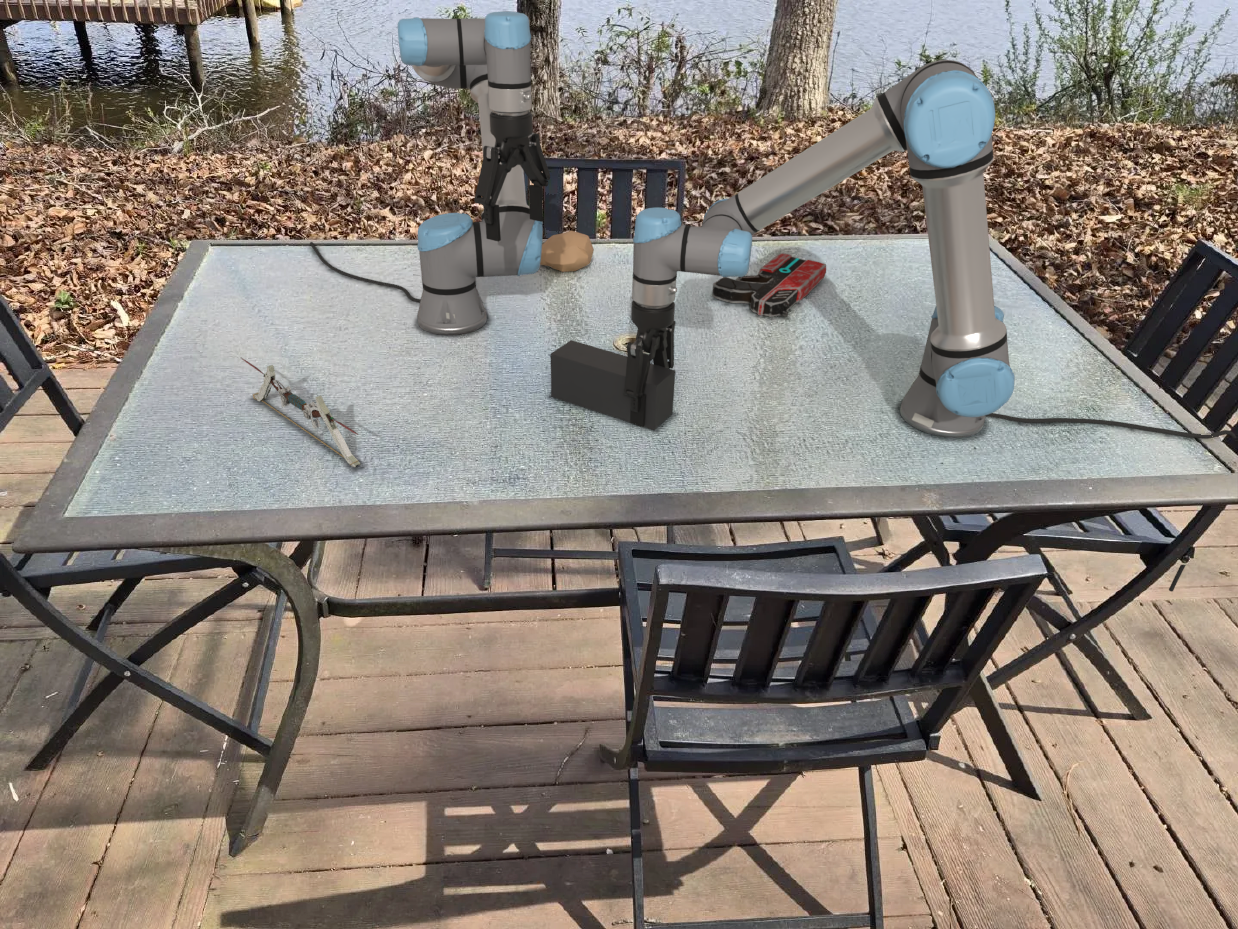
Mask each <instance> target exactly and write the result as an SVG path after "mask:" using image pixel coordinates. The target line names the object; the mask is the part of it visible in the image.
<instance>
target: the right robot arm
mask: <svg viewBox="0 0 1238 929" xmlns="http://www.w3.org/2000/svg"><path fill="white" fill-rule="evenodd" d="M995 108H996V107H995V103H994V99H993V97H992V94H991V92H990V91H989V88H988V87H987V86H986V85H985V84H984V83H983V81H982V80H980V79H979V78H978V76H977V75H976V73H975V72H974V71H973V70H972V68H970V67H969V66H968V65H966V64H964V63H963V62H960V61H957V60H953V59H939V60H935V61H931V62H928V63H926V64H924V65H922V66H921V67H919V68H918V69H915V70H914V71H913V72H912V73H910V74H909V75H907V76H906V77H904V78H903V79H901V80H900V81H898V82H897V83H896V84H894V85H893V86H892V87H890V88H889V89H887V90H886V91H884V92H882V93H881V94H879V95H878V96H876V97H874V101H873V104H872V106H871V108H870V109H867V110H866V111H865V112H863V113H862V114H859V115H858V116H857V117H855V118H854V119H852V120H851V121H849V122H847V123H846V124H844V125H842V126H841V127H840V128H837V129H836V130H834V131H833V132H832V133H830V134H829V135H827V136H825V137H824V138H822V139H820V140H819V141H817V142H816V143H814V144H813V145H811V146H810V147H808V148H806V149H804V150H803V151H802V152H800V153H798V154H796V155H795V156H794V157H792V158H790V159H789V160H787V161H785V162H784V163H782V164H781V165H779V166H778V167H776V168H774V169H773V170H772V171H770V172H768V173H767V174H765V175H764V176H762V177H760V178H758V179H757V180H756V181H754V182H752V183H750V185H748V186H746V187H745V188H743V189H742V190H740V191H738V192H737V193H735V194H734V195H732V196H730V197H729V198H721V199H719V200H716V201H715V202H713V203H712V204H711V205H710V206H709V207H708V209H707V211H706V212H705V214H704V217H703V220H702V223H701V226H691V225H687V224H682V221H681V215H680V213H679V212H678V211H676V210H675V209H670V208H669V209H668V208H667V207H658V206H657V207H649V208H645V209H641V210H640V211H639V212H638V213H637V215H636V216H635V223H634V235H633V238H632V242H633V248H632V250H633V251H632V253H633V255H632V256H633V257H632V282H631V285H632V286H631V299H632V300H631V310H630V312H631V313H630V319H631V323H633V325H635V327H636V328H637V332H636V334H635V341H634V342H628V343H627V345H626V356H627V366H626V377H625V387H624V394H625V395H628V396H631V412H630V422H629V423H630V424H632V425H635V426H638V427H641V428H645V427H644V426H645V411H646V394H644V390H645V385H646V381H647V376H648V372H649V367H650V363H651V362H652V363H651V364H655V365H658V366H662V367H665V368H668V369H672V370H673V369H674V366H675V330H676V323H677V322H676V320H675V312H676V311H675V310H676V303H675V302H674V301H675V300H676V294H677V293H678V287H677V279H678V278H677V277H678V272H681V273H691V274H700V275H709V276H718V277H721V278H723V277H728V278H738V277H743V276H747V275H748V274H749V270H750V263H751V255H752V248H753V236H754V235H755V234H757V233H759V232H760V231H761V230H764V228H766V227H767V226H770V225H771V224H773V223H774V222H776V221H778V220H780V219H781V218H783V217H784V216H786V215H789V213H792V212H794V211H795V210H796V209H798V208H800V207H801V206H803V205H805V204H806V203H808V202H810V201H812V200H813V199H815V198H817V197H818V196H820V195H822V194H823V193H825V192H827V191H829V190H830V189H832V188H833V187H835V186H837V185H838V184H840V183H842V182H843V181H845V180H846V179H849V178H851V177H852V176H853V175H855V174H857V173H858V172H860V171H862V170H863V169H865V168H867V167H868V166H870V165H872V164H874V163H875V162H877V161H878V160H880V159H882V158H883V157H885V156H886V155H889V154H890V153H893V151H896V152H901V153H904V152H907V158H908V159H907V160H908V168H909V176H910V178H911V179H912V180H914V181H915V182H917V183H918V184H920V185H921V187H922V196H923V203H924V212H925V220H926V230H927V237H928V246H929V256H930V263H931V264H930V265H931V272H932V273H931V274H932V281H933V289H934V296H935V298H934V299H935V308H934V310H933V313H932V315H931V317H930V318H931V322H930V326H929V330H928V334H927V338H926V342H925V347H924V351H923V355H922V359H921V363H920V367H919V372H918V374H917V376H916V378H915V379H914V380H913V383H912V384H911V386H910V387H909V389H908V390H907V392H906V393H905V394H904V396H903V398H902V401H901V405H900V407H899V413H900V415H901V418H902V419H903V420H904V421H905V422H906V423H908V425H910V426H911V427H913V428H915V429H916V430H918V431H921V432H923V433H926V434H928V435H932V436H937V437H941V438H949V439H950V438H952V439H961V438H969V437H972V436H975V435H977V434H979V433H980V432H981V431H982V430H983V427H984V425H985V421H986V418H987V417H988V418H994V419H1001V420H1005V421H1010V422H1016V423H1023V424H1024V423H1025V424H1048V423H1049V424H1050V423H1051V424H1052V423H1067V424H1068V423H1069V424H1070V423H1071V424H1092V425H1093V424H1094V425H1106V426H1113V427H1114V426H1115V427H1121V428H1128V429H1134V430H1139V431H1145V432H1152V433H1159V434H1165V435H1171V436H1177V437H1185V438H1193V439H1203V440H1204V439H1207V440H1208V439H1214V438H1218V437H1221V436H1224V435H1226V436H1229V437H1230V438H1231V439H1237V435H1236V434H1235V433H1234V432H1233V431H1232V430H1228V429H1223V430H1219V431H1216V432H1212V433H1210V434H1211V435H1201V434H1202V433H1194V432H1192V433H1193V434H1190V433H1191V432H1186V431H1181V430H1179V431H1178V430H1172V429H1167V428H1160V427H1154V426H1147V425H1141V424H1136V423H1129V422H1122V421H1117V420H1108V419H1097V418H1096V419H1094V418H1080V417H1079V418H1078V417H1077V418H1075V417H1074V418H1073V417H1047V418H1046V417H1045V418H1027V417H1026V418H1025V417H1017V416H1011V415H1006V414H1001V413H995V412H997V411H998V410H1000V409H1001V408H1002V407H1003V406H1004V405H1006V404H1007V403H1008V402H1009V400H1010V399H1011V397H1012V395H1013V393H1014V390H1015V380H1016V379H1015V378H1016V377H1015V373H1014V372H1013V369H1012V368H1011V363H1010V356H1009V355H1010V354H1009V343H1008V330H1007V325H1006V324H1005V323H1004V318H1005V313H1004V311H1003V310H1002V309H1001V308H1000V307H998V306H997V305H995V299H994V298H995V297H994V284H993V274H992V263H991V262H992V260H991V250H990V248H991V247H990V236H989V226H988V224H989V223H988V213H987V200H986V189H985V187H986V186H985V176H984V173H985V171H987V169H988V168H989V167H990V166H991V164H992V163H993V162H994V145H993V144H994V143H993V131H994V127H995V121H996V109H995ZM1212 436H1213V437H1212ZM1186 565H1187V564H1180V566H1179V567H1178V569H1177V571H1176V573H1175V575H1174V577H1173V579H1172V581H1171V584H1170V586H1169V588H1168V591H1169V592H1171V593H1173V592H1174V590H1175V588H1176V586H1177V584H1178V583H1179V582H1178V581H1179V580H1180V578H1181V576H1182V573H1183V571H1184V570H1185V568H1186Z"/></svg>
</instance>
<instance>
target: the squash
mask: <svg viewBox="0 0 1238 929" xmlns="http://www.w3.org/2000/svg"><path fill="white" fill-rule="evenodd" d="M594 251H595V249H594V246H593V243H592V241H591V239H590V236H589V235H587V234H584V233H581V232H578V231H575V230H568V231H565V232H562V233H557V234H553V235H551V236H549V238H547V239H546V240H545V241H544V242H542V252H541V262H540V266H546V267H550V268H552V269H554V270H556V271H559V272H561V273H564V272H565V273H566V272H567V273H569V272H577V271H578V270H579V271H580V270H581V269H583V268H585V267H586V266H589V265H590V263H591V262H592V258H593V254H594Z"/></svg>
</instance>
